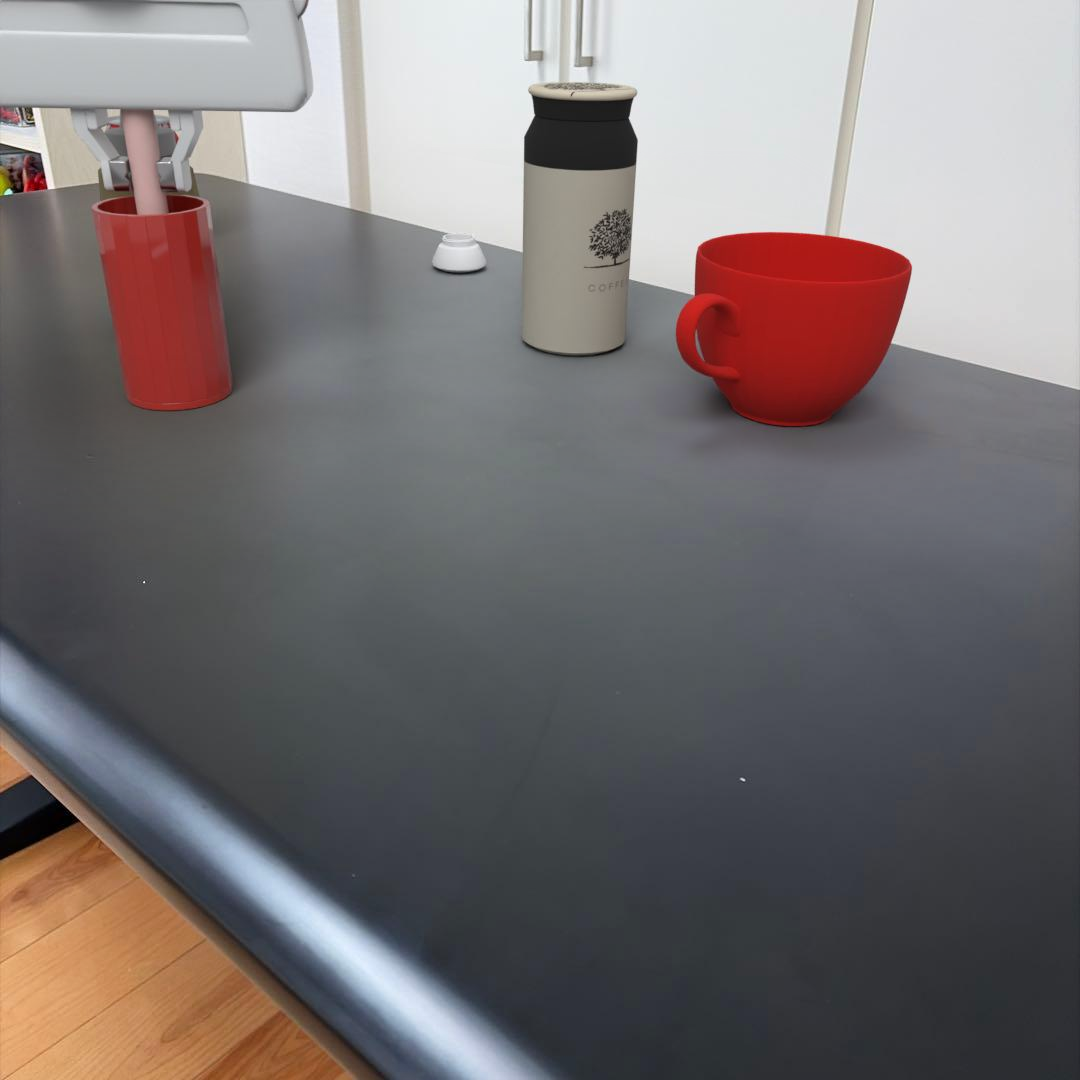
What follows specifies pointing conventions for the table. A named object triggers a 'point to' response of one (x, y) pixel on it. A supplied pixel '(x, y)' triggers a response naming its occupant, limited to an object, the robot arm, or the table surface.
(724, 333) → the ceramic cup
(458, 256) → the lidless jar
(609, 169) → the travel mug
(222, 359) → the red tumbler
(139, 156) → the straw
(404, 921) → the table surface
